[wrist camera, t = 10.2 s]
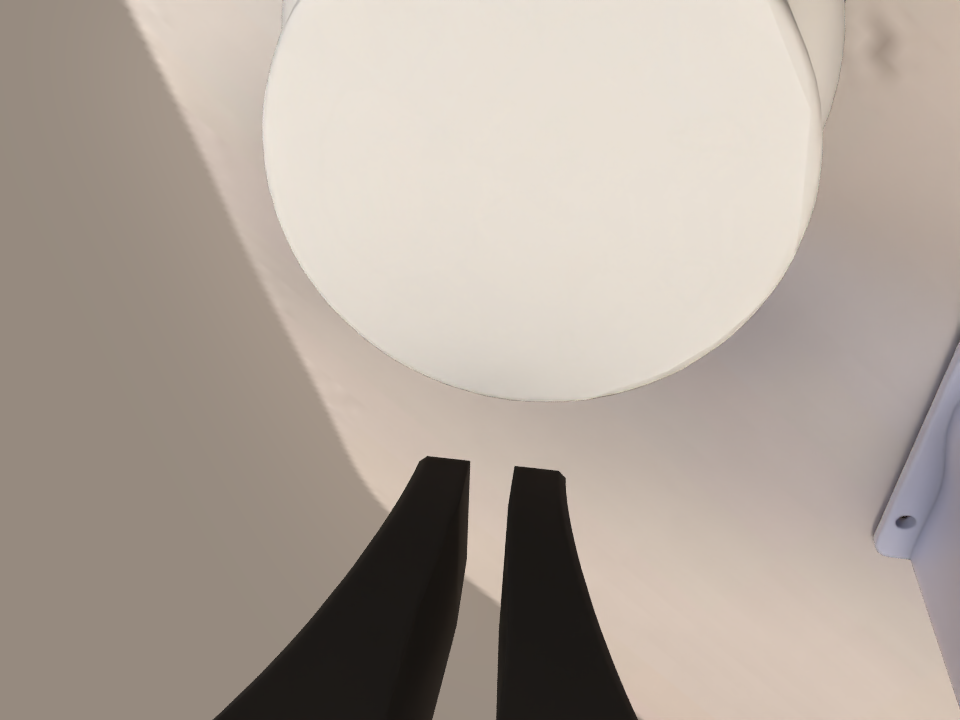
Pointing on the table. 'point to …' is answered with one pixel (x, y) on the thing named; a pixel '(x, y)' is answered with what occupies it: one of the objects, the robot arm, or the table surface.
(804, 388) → the table surface
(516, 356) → the pill bottle
